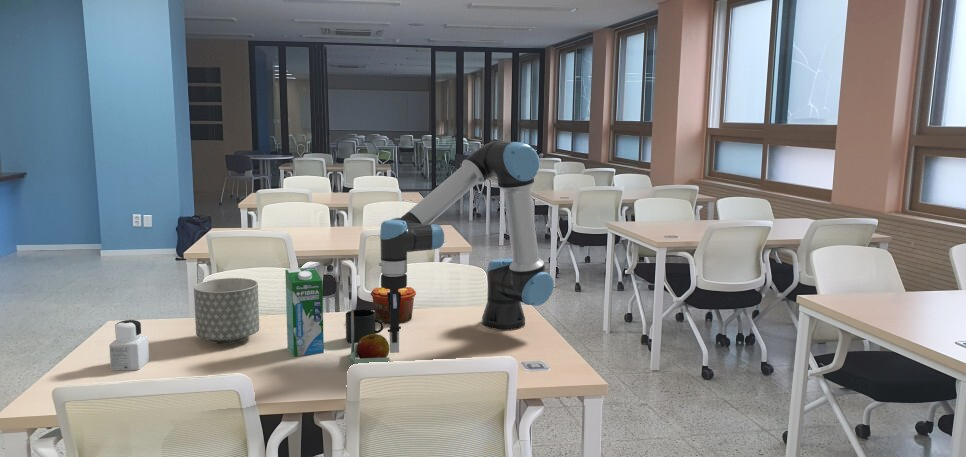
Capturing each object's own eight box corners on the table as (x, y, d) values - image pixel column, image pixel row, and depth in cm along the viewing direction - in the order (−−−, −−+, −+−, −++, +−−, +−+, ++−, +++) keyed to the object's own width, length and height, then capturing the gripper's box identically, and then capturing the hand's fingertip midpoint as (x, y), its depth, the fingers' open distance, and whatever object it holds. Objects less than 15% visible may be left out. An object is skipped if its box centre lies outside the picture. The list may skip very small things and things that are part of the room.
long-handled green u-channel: (388, 352, 217) (387, 303, 215) (389, 370, 202) (389, 317, 200) (351, 354, 215) (350, 304, 213) (350, 372, 200) (349, 319, 198)
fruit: (350, 364, 206) (350, 338, 205) (366, 355, 215) (365, 329, 213) (380, 369, 203) (380, 342, 202) (394, 359, 211) (394, 333, 210)
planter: (271, 340, 227) (269, 285, 224) (214, 354, 213) (211, 295, 211) (241, 327, 240) (239, 275, 237) (185, 339, 226) (183, 284, 223)
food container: (378, 312, 262) (377, 283, 260) (420, 314, 260) (420, 285, 258) (365, 324, 246) (364, 294, 244) (410, 327, 244) (410, 296, 242)
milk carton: (294, 356, 212) (291, 275, 208) (287, 348, 220) (285, 269, 216) (323, 352, 216) (322, 272, 212) (316, 344, 224) (314, 266, 220)
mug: (381, 345, 224) (381, 317, 223) (343, 344, 224) (343, 316, 223) (385, 336, 233) (385, 309, 232) (348, 335, 233) (348, 308, 232)
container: (122, 361, 206) (119, 318, 204) (149, 360, 207) (147, 317, 205) (110, 370, 198) (107, 325, 196) (139, 370, 199) (136, 325, 197)
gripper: (380, 269, 211) (381, 345, 215) (381, 279, 199) (382, 359, 202) (405, 268, 212) (405, 344, 216) (408, 278, 200) (408, 358, 203)
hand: (394, 351), depth 209 cm, fingers closed
